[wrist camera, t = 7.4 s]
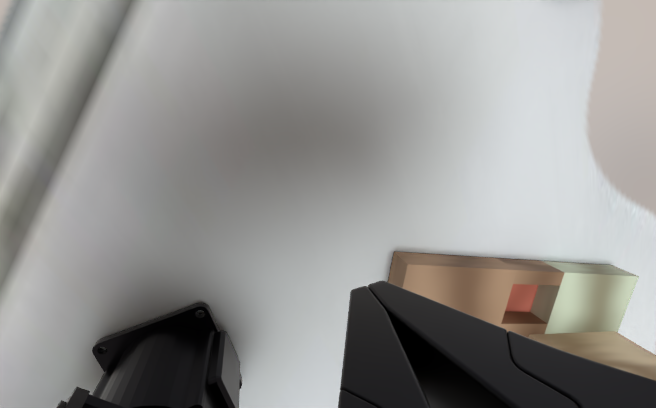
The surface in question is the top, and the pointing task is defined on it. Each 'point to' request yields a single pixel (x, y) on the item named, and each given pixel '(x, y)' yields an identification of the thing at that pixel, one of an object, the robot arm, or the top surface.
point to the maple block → (604, 350)
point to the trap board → (520, 291)
